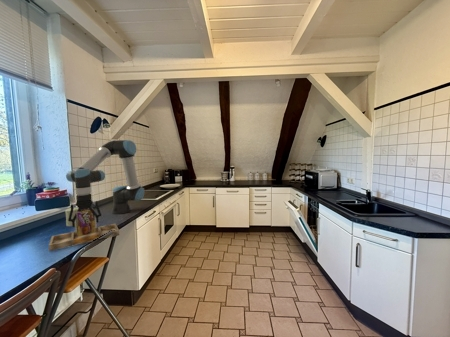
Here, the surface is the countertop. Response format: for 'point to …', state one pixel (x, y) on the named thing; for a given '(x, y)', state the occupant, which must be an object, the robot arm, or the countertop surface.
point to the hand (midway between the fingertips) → (86, 229)
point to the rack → (74, 239)
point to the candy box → (85, 222)
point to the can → (69, 223)
